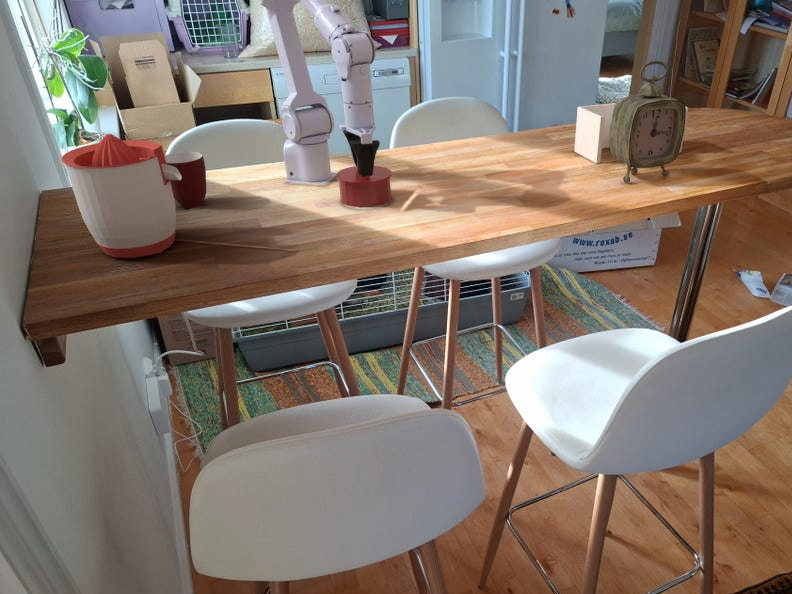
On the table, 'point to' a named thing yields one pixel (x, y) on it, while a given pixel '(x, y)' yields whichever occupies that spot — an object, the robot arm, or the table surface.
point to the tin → (365, 194)
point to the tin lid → (355, 177)
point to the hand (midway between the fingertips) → (363, 170)
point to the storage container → (595, 130)
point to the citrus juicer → (125, 195)
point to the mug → (188, 178)
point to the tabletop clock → (647, 127)
